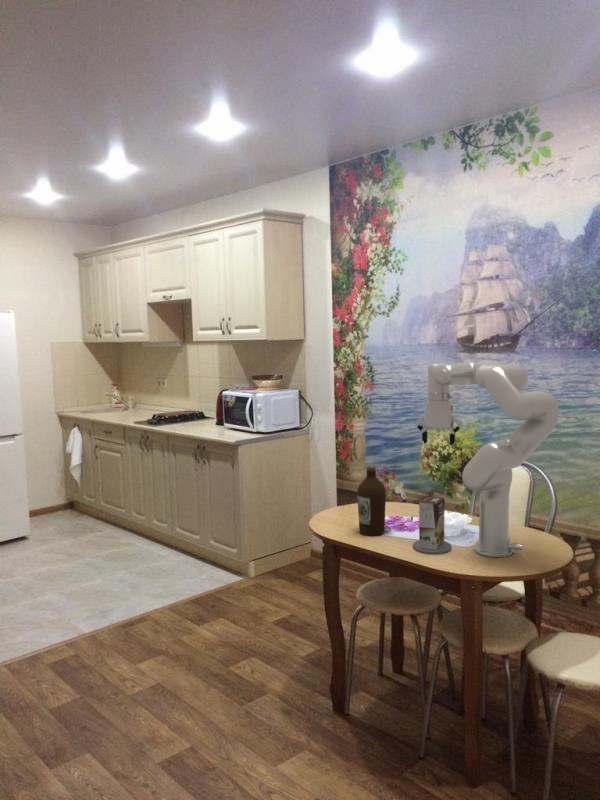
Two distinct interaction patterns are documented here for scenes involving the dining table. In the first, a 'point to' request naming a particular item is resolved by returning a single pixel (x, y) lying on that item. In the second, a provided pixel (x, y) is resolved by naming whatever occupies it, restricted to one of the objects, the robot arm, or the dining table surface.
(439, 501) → the coffee box
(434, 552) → the mat
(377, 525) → the olive oil
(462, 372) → the robot arm
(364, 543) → the dining table surface
